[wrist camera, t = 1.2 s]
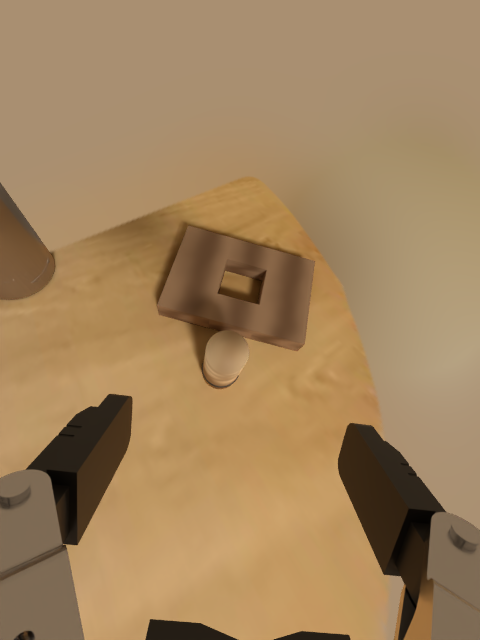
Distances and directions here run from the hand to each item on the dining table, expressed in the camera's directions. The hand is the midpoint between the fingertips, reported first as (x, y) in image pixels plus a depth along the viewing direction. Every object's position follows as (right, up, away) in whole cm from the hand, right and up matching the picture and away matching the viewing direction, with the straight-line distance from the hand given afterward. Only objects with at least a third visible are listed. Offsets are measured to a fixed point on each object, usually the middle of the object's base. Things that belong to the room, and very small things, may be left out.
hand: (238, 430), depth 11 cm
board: (0, +8, +33) cm, 34 cm away
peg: (-3, -3, +27) cm, 27 cm away
